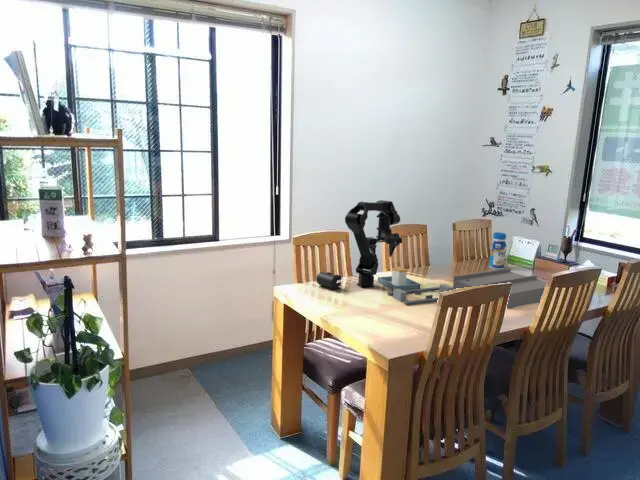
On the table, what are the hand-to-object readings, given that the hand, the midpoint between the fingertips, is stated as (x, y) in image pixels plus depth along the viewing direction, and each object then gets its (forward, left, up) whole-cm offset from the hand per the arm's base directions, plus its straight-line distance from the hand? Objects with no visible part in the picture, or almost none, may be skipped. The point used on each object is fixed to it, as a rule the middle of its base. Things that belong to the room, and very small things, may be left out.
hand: (382, 257), depth 247 cm
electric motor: (-30, -3, -12) cm, 33 cm away
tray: (+4, -10, -12) cm, 16 cm away
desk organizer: (+48, -36, -13) cm, 61 cm away
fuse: (+4, -10, -11) cm, 16 cm away
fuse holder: (+5, -29, -12) cm, 32 cm away
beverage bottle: (+79, +5, -12) cm, 80 cm away
